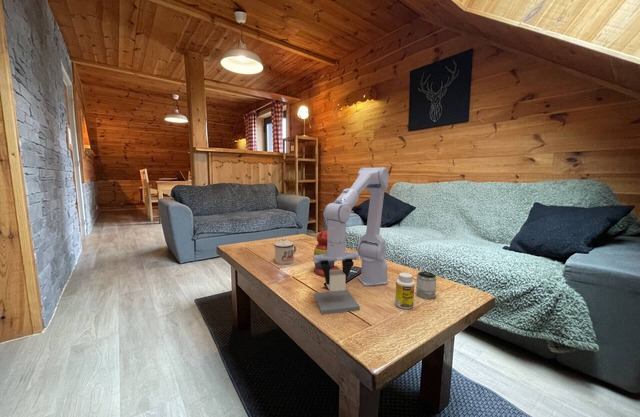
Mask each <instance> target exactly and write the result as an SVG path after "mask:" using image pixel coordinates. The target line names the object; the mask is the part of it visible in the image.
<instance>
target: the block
mask: <svg viewBox="0 0 640 417" xmlns="http://www.w3.org/2000/svg"><path fill="white" fill-rule="evenodd" d="M346 284H347V281H346V275H345V273H344V272H343V269H340V268H339V269H338V270H330V271H329V284H328V285H327V284H326V283H325V285H326V287H327V288H328V290H329V292H330V291H341V290H346Z"/></svg>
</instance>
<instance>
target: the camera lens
mask: <svg viewBox="0 0 640 417" xmlns="http://www.w3.org/2000/svg"><path fill="white" fill-rule="evenodd" d="M415 284H416V285H415V286H416V287H415V288H416V289H415V290H416V296H418V297H419V298H421V297H422V299H425V298H427V299H426V300H430V299H429V298H432V299H434V298H435V296H436V291H437V290H436V289H437V275H435V274H434V273H432V272H429V271H420V272H417V274H416V283H415ZM433 297H434V298H433Z"/></svg>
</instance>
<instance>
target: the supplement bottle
mask: <svg viewBox="0 0 640 417" xmlns="http://www.w3.org/2000/svg"><path fill="white" fill-rule="evenodd" d="M415 284H416V283H415V281H414V280H413V274H411V273H410V272H400V273H399V274H398V278H397V279H396V282H395V297H394V298H395V299H394V301H395V302H394V304H395V305H396V307H398V308H400V309H405V310H409V309H412V308H413V307H414V302H415V300H414V299H415V286H416V285H415Z"/></svg>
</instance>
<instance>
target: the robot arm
mask: <svg viewBox="0 0 640 417" xmlns="http://www.w3.org/2000/svg"><path fill="white" fill-rule="evenodd" d="M389 179H390V174H389V171H388V169H387V168H386V166H385V167H384V166H382V167H365V166H363V167H360V168H359V171H358V172H357V178H356V179H355V181H354V182H353V184H352V185H351V186H350V188H349V187H348V188H344V189H343V190H342V192H341V193H340V195H339V196H338V197H337V198H336V199H335V200H334V201H333V202H329V203H328V204H327V205H326V206H325V207H324V211H323V213H322V214H323V217H324V220H325V225H326V227H327V230H328V231H327V253H325V254H320V255H314V254H313V256H312V257H313V258H312V259H313V260H312V261H313V263H318V262H320V264H321V267H322V269H323V272H324V275H325V277H324V280H325V285H326V284H327V285H328V284H329V271H330V265H329V263H328V261H335V262H340V261H341V264H342V265H341V266H342V271H343V272H344V273H345V275H346V282H347V280H348V277H349V274H350V272H351V270H352V268H353V266H354V264H355V263H354V261H353V260H355V261H359V260H360V259H361V267H360V268H361V272H360V273H361V276H357V279H358V280H359V281H360V283H362V285H363V286H364V287H368V286H379V285H387V284H388V263H387V260H386V259H385V258H386V255H387V247H386V245H387V243H386V240H385V239H384V238H383V237H382V236H381V235H380V232H381V224H382V214H383V205H384V196H385V192H386V191H388V189H389V188H388V186H389V181H390V180H389ZM364 190H367V191H368V192H369V193H370V196H369V203H368V213H367V221H366V229H365V230H366V231H365V233H364V234H363V235H362V236H360V237H359V242H358V244H357V247H356V252H346V231H347V228H346V227H347V222H348V221H349V219H350V217H351V213H352V209H353V208H354V206H356V204H357V203H358V201H359V200H360V199H359V198H360V197H359V195H360V194H361V193H362V192H363V191H364ZM327 285H326V286H327Z"/></svg>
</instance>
